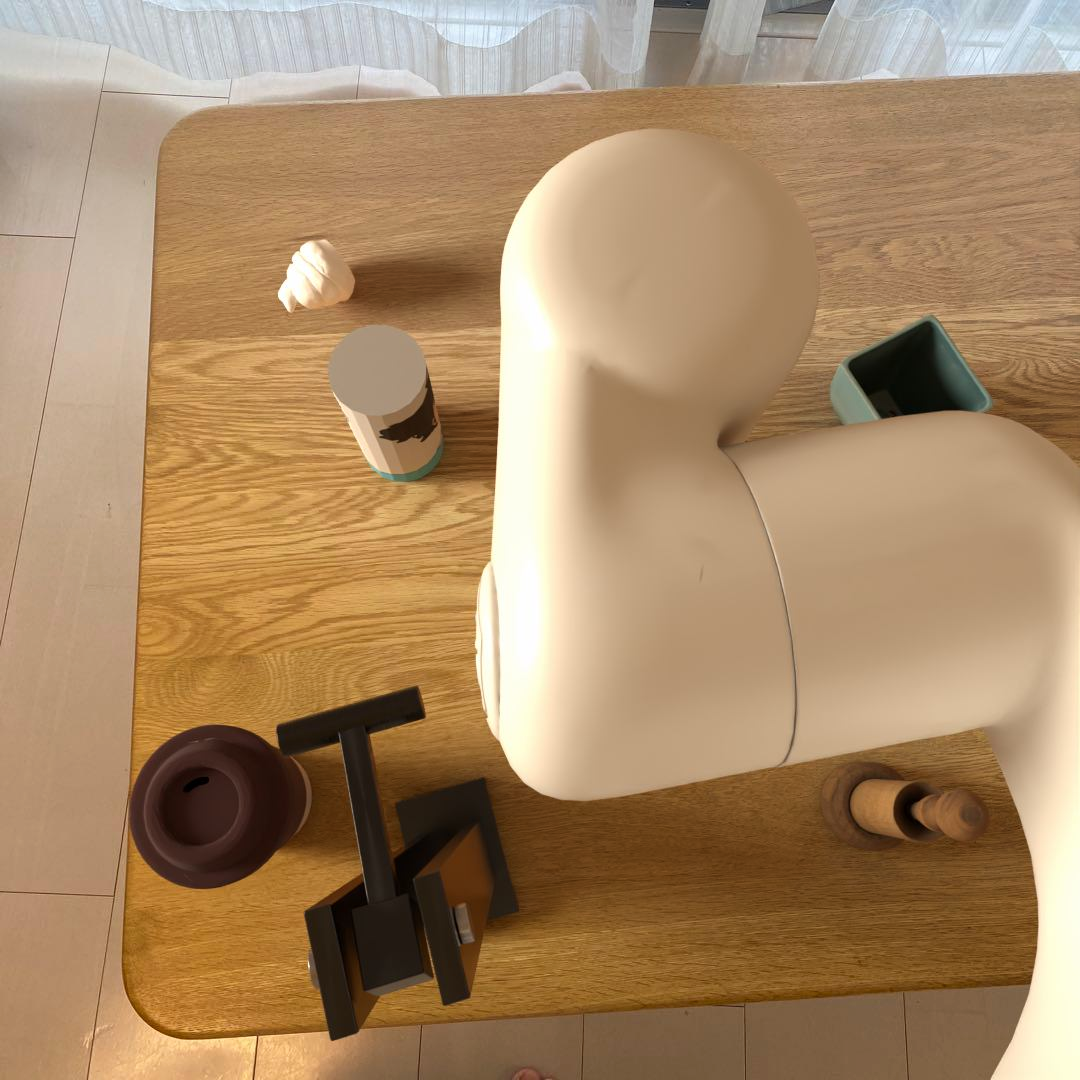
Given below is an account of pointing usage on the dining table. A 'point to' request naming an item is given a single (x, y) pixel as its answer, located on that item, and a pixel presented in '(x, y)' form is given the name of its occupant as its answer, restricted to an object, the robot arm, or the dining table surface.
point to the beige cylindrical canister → (388, 401)
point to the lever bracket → (420, 901)
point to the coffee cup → (216, 806)
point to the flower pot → (907, 377)
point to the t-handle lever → (371, 836)
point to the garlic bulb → (316, 277)
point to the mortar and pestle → (897, 808)
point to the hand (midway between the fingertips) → (581, 562)
